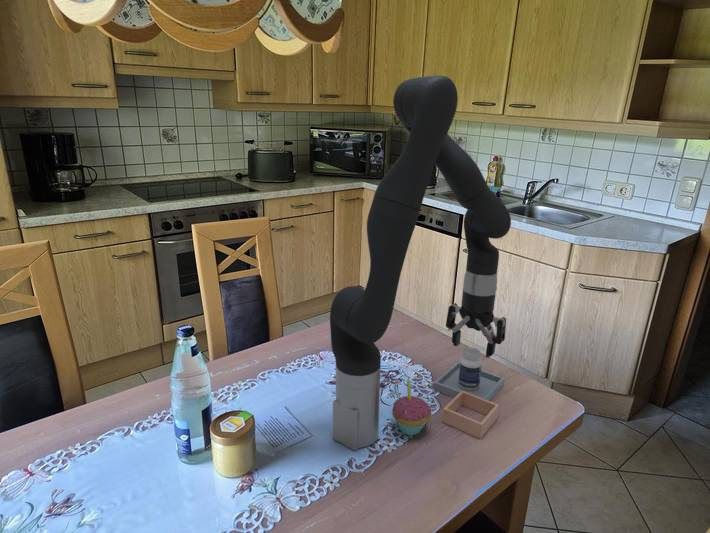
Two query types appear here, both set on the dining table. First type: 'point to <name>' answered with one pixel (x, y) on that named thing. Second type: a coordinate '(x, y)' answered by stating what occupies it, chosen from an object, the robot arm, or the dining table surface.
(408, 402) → the cupcake
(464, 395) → the holder
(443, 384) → the tray
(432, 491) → the dining table surface
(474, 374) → the pill bottle
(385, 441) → the dining table surface
